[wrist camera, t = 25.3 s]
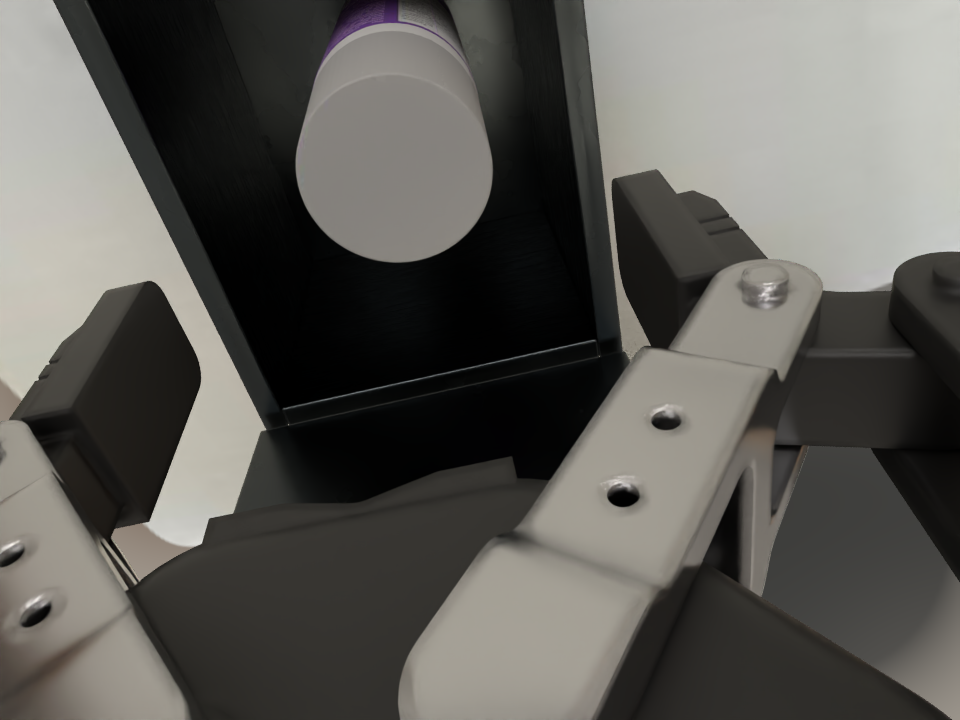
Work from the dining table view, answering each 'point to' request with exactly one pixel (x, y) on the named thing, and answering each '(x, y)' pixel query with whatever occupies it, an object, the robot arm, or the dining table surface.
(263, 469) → the bin lid
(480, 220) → the bin
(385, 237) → the container
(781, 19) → the dining table surface
